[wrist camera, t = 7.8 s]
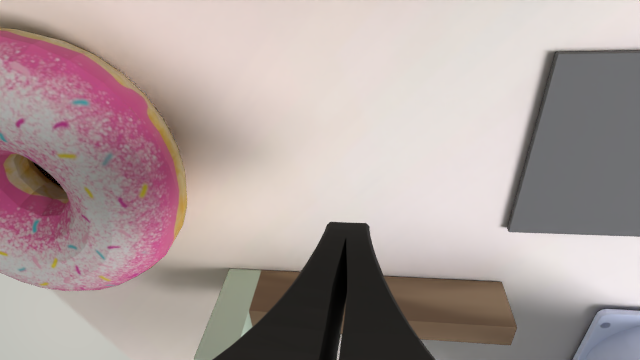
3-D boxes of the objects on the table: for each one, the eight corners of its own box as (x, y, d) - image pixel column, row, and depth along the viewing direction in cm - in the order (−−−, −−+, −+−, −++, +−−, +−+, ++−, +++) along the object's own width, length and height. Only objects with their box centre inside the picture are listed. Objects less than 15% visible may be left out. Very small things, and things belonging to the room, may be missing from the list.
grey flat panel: (645, 232, 20) (648, 236, 20) (507, 228, 21) (508, 231, 20) (742, 48, 15) (749, 51, 15) (555, 51, 16) (558, 54, 15)
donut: (89, -41, 16) (-10, -21, 12) (250, 212, 22) (222, 281, 18) (-111, 77, 20) (-237, 121, 16) (73, 261, 26) (18, 327, 22)
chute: (495, 305, 24) (526, 408, 19) (235, 290, 26) (202, 381, 21) (627, -148, 12) (798, -183, 7) (134, -112, 14) (7, -122, 9)
